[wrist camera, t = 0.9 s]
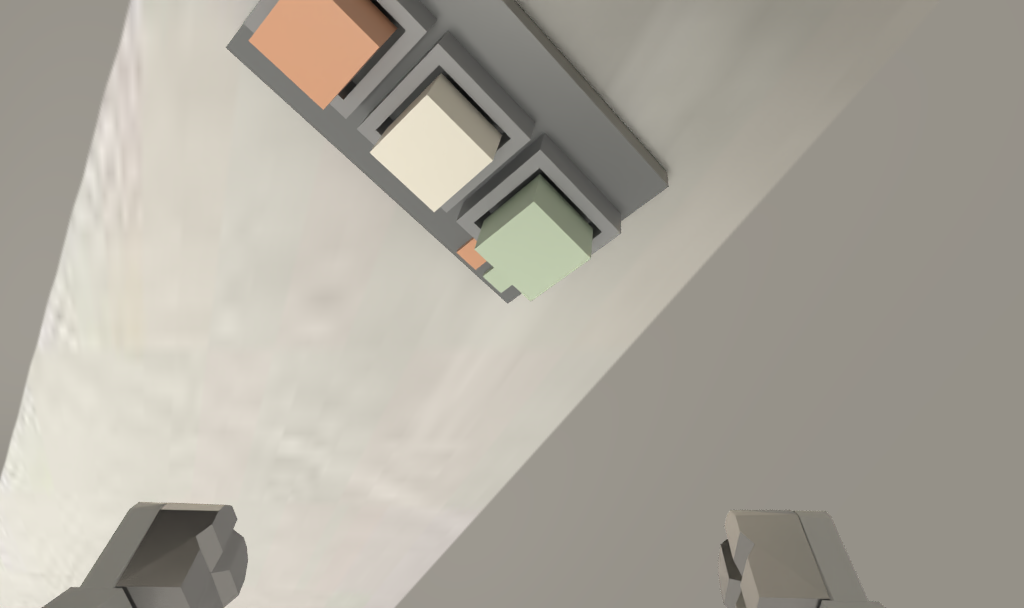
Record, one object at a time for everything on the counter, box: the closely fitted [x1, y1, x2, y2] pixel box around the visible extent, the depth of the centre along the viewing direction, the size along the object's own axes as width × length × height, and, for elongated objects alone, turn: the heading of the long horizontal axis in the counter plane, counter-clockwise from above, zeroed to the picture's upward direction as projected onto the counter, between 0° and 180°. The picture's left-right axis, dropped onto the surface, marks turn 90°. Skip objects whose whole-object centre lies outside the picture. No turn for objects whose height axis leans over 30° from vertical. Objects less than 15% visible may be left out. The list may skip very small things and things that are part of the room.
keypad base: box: [226, 0, 669, 303], centre depth 42 cm, size 14×24×4 cm, turn 44°
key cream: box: [370, 73, 502, 212], centre depth 39 cm, size 5×5×4 cm
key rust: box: [249, 0, 398, 110], centre depth 37 cm, size 5×5×4 cm
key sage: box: [474, 174, 593, 301], centre depth 42 cm, size 5×5×4 cm
